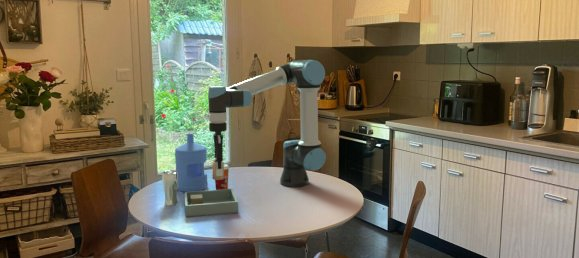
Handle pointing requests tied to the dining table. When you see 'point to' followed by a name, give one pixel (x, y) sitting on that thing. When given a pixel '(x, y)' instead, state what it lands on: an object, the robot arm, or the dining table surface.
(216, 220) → the dining table surface
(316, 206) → the dining table surface
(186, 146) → the water jug
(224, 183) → the paper cup
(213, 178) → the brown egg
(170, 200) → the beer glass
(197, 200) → the walnut cube
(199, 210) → the tote
